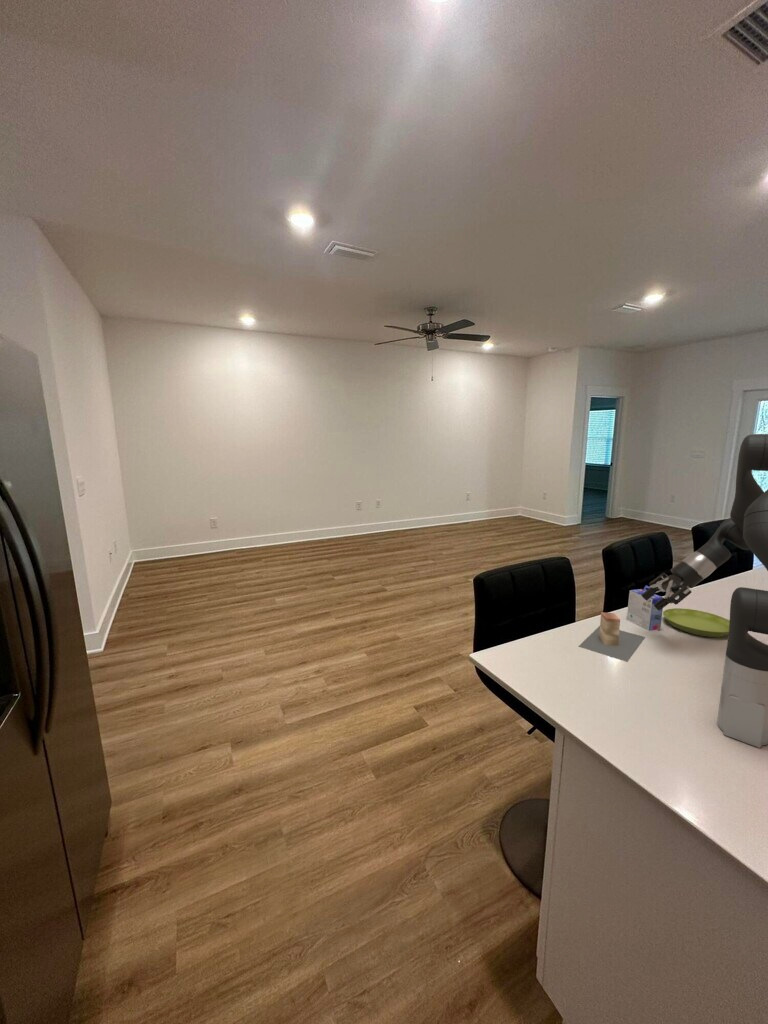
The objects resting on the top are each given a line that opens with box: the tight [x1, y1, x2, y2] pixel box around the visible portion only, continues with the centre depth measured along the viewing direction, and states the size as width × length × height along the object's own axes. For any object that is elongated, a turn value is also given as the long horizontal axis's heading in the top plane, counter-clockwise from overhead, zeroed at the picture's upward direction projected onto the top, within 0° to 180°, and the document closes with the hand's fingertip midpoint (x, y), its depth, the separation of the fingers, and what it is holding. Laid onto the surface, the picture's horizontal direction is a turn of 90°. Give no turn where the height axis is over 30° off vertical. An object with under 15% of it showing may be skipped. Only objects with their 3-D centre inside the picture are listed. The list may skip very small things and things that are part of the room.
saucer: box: [662, 607, 730, 638], centre depth 146 cm, size 21×21×3 cm
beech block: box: [599, 611, 621, 646], centre depth 134 cm, size 4×5×9 cm
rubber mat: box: [578, 625, 646, 663], centre depth 135 cm, size 22×14×1 cm, turn 136°
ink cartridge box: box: [625, 584, 665, 632], centre depth 146 cm, size 10×6×14 cm, turn 15°
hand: (649, 602), depth 131 cm, fingers open, 8 cm apart
